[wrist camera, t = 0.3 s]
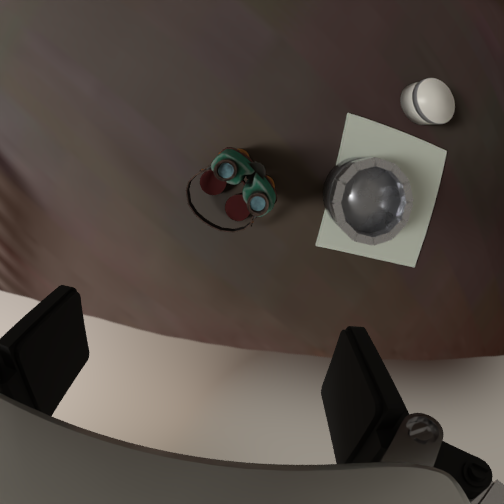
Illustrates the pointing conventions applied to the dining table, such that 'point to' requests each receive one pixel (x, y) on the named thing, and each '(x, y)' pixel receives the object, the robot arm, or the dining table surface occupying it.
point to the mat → (415, 169)
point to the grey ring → (368, 199)
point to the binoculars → (233, 172)
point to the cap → (428, 102)
